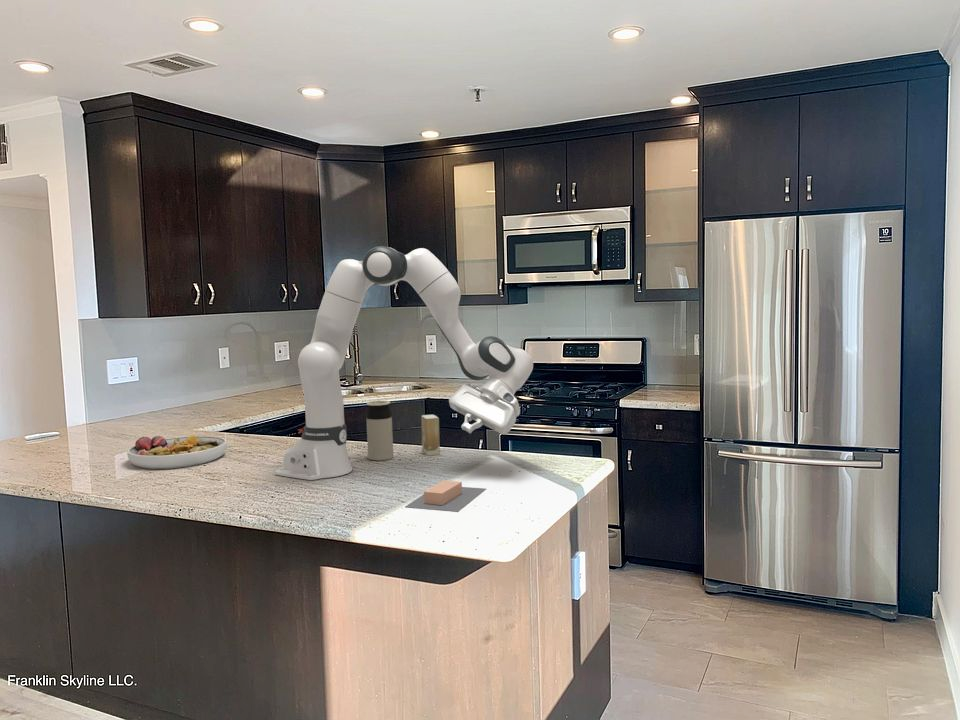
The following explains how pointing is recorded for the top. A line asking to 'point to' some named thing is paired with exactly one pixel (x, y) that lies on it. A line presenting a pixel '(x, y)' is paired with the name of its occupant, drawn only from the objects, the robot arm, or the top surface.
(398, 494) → the top surface
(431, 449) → the skincare box
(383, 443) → the travel mug
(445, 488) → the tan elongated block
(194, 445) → the bowl
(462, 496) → the mat
